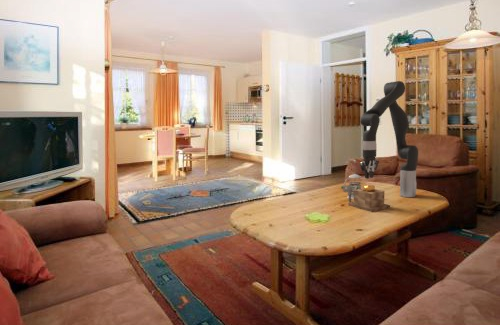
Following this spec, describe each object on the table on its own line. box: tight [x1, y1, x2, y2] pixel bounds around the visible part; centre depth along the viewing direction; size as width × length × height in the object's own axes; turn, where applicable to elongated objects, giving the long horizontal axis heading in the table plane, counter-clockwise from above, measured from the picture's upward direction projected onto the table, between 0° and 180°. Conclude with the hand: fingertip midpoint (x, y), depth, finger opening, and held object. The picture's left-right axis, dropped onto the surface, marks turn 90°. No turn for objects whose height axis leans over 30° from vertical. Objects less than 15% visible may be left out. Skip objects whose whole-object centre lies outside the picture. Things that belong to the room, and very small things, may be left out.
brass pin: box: [363, 184, 376, 192], centre depth 204 cm, size 6×6×10 cm
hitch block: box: [347, 188, 391, 213], centre depth 204 cm, size 15×18×10 cm
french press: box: [343, 159, 362, 200], centre depth 227 cm, size 10×12×25 cm
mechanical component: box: [340, 184, 359, 203], centre depth 217 cm, size 3×10×10 cm, turn 78°
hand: (369, 177), depth 202 cm, fingers open, 3 cm apart
